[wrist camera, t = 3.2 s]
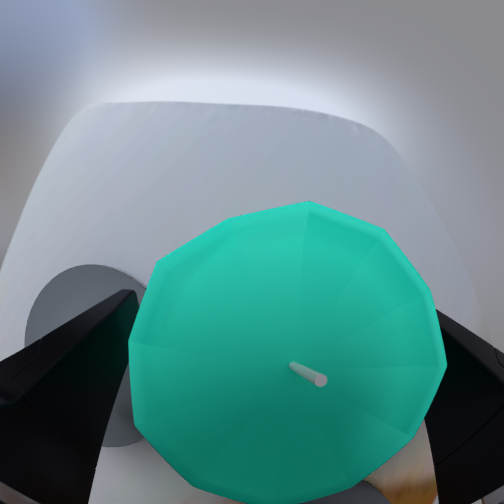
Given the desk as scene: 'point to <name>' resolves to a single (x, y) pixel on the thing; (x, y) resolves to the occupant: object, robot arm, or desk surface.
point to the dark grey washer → (353, 496)
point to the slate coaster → (74, 303)
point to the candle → (284, 355)
